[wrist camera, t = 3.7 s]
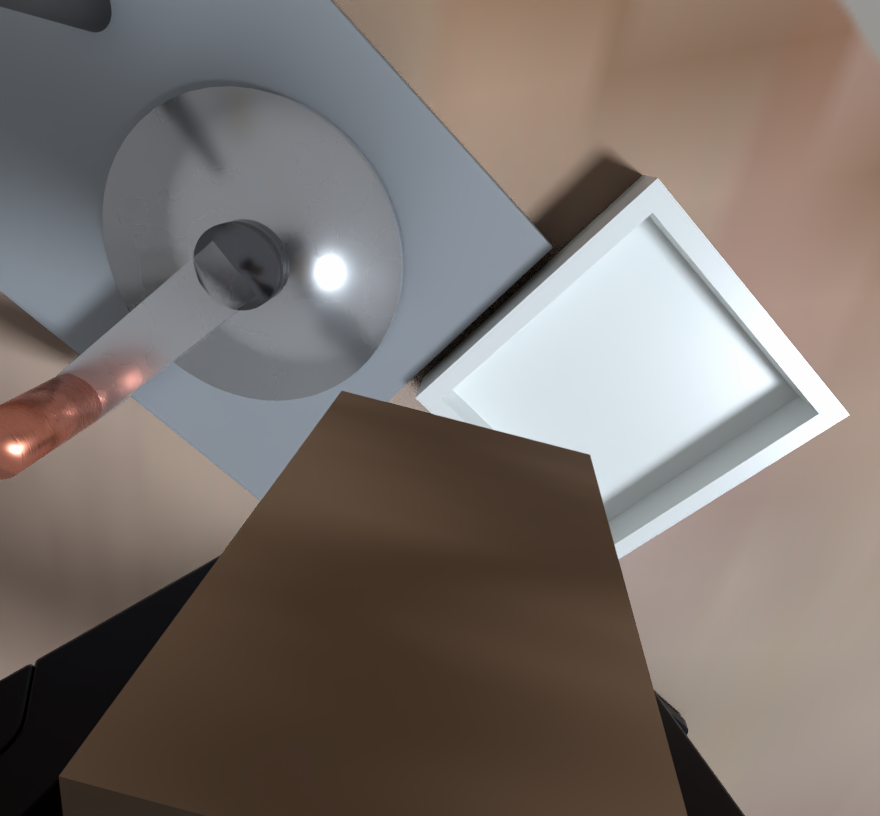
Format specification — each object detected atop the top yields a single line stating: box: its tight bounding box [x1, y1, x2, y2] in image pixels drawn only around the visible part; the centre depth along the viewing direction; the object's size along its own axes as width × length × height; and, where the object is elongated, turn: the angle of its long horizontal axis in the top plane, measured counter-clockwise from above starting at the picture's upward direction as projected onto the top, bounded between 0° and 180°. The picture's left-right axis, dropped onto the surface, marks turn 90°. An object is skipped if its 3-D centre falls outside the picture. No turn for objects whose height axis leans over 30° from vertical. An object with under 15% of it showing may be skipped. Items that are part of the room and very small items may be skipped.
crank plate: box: [0, 0, 553, 501], centre depth 16 cm, size 16×14×4 cm
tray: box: [416, 175, 849, 559], centre depth 18 cm, size 9×9×2 cm
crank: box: [0, 86, 405, 479], centre depth 15 cm, size 13×9×5 cm
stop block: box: [59, 391, 687, 816], centre depth 7 cm, size 4×4×6 cm
